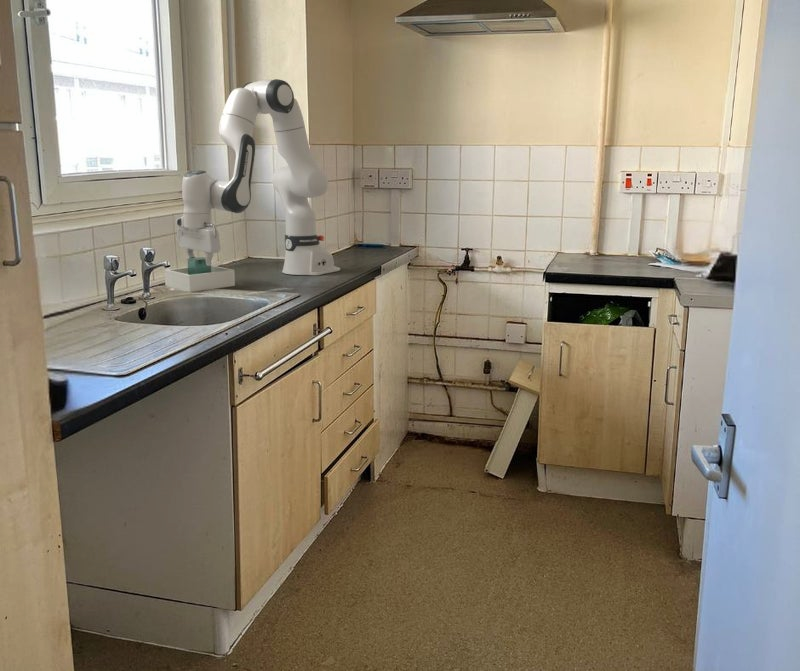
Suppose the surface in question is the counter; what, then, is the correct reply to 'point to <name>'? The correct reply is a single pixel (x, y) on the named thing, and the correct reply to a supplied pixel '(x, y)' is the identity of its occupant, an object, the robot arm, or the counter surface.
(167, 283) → the tote
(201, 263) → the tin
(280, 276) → the counter surface
